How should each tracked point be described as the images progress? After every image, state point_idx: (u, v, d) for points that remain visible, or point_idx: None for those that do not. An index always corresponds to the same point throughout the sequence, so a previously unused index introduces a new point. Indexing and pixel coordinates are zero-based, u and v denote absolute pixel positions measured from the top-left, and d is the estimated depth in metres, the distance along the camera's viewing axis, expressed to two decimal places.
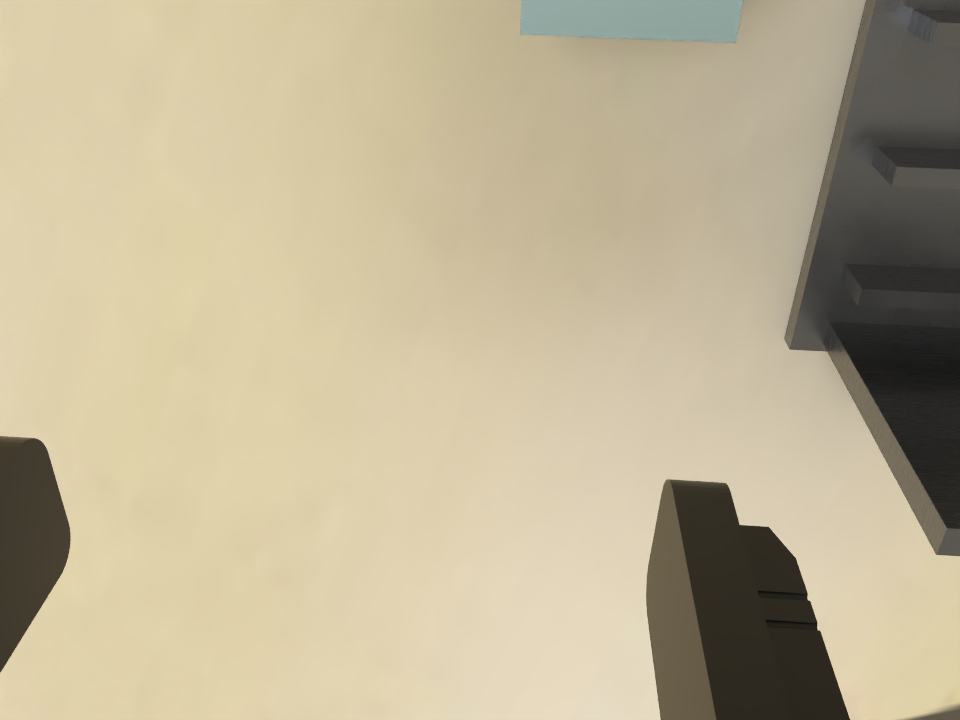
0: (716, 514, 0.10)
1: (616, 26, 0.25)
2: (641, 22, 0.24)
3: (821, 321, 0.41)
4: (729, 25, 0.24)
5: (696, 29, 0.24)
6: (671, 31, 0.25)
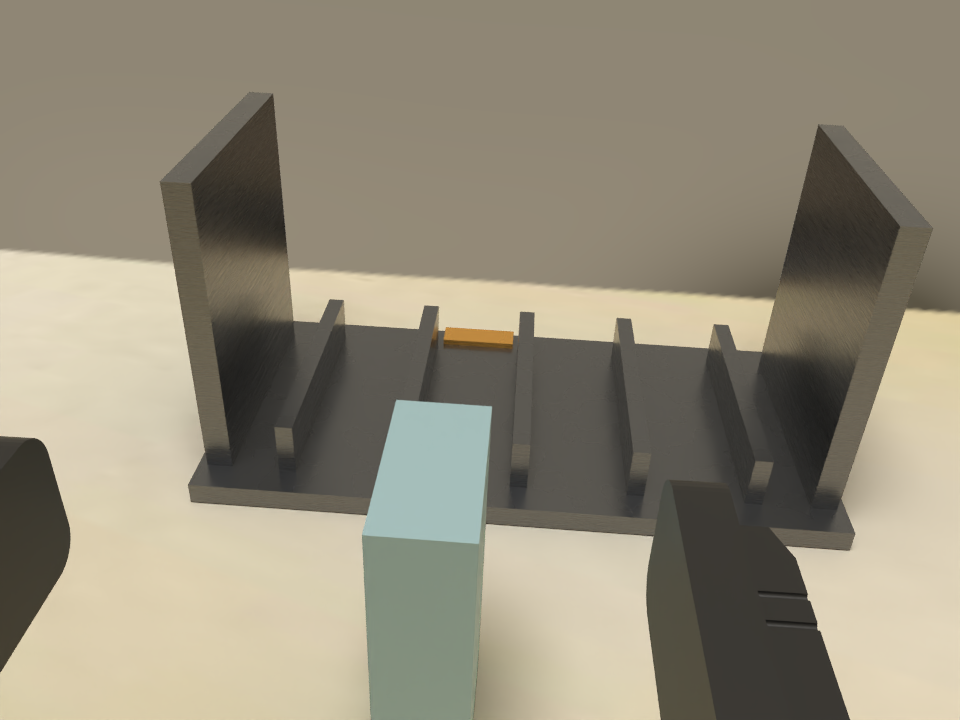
0: (716, 514, 0.10)
1: (474, 476, 0.25)
2: (471, 459, 0.25)
3: (812, 513, 0.40)
4: (476, 410, 0.27)
5: (479, 427, 0.27)
6: (480, 442, 0.26)
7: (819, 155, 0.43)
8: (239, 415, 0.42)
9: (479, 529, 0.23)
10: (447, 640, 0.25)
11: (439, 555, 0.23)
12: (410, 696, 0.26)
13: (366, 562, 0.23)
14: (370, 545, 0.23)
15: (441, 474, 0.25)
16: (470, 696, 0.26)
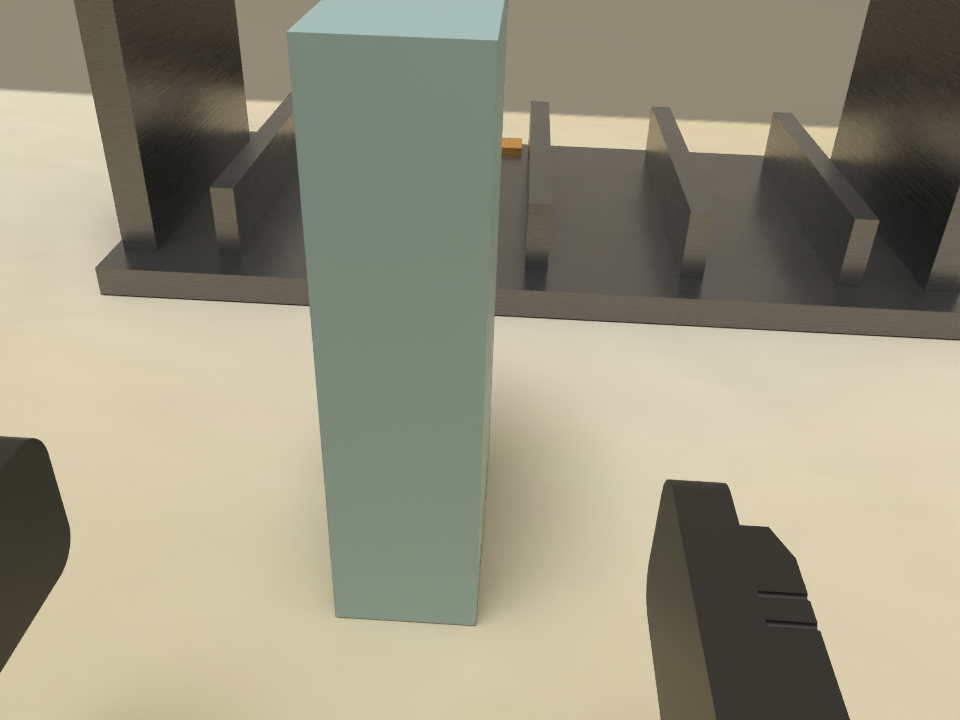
0: (716, 514, 0.10)
1: (485, 5, 0.15)
2: None
3: (928, 295, 0.30)
4: None
5: None
6: None
7: None
8: (166, 188, 0.32)
9: (497, 33, 0.13)
10: (444, 278, 0.15)
11: (425, 73, 0.13)
12: (384, 403, 0.16)
13: (297, 100, 0.13)
14: (302, 56, 0.13)
15: (428, 2, 0.15)
16: (482, 399, 0.16)
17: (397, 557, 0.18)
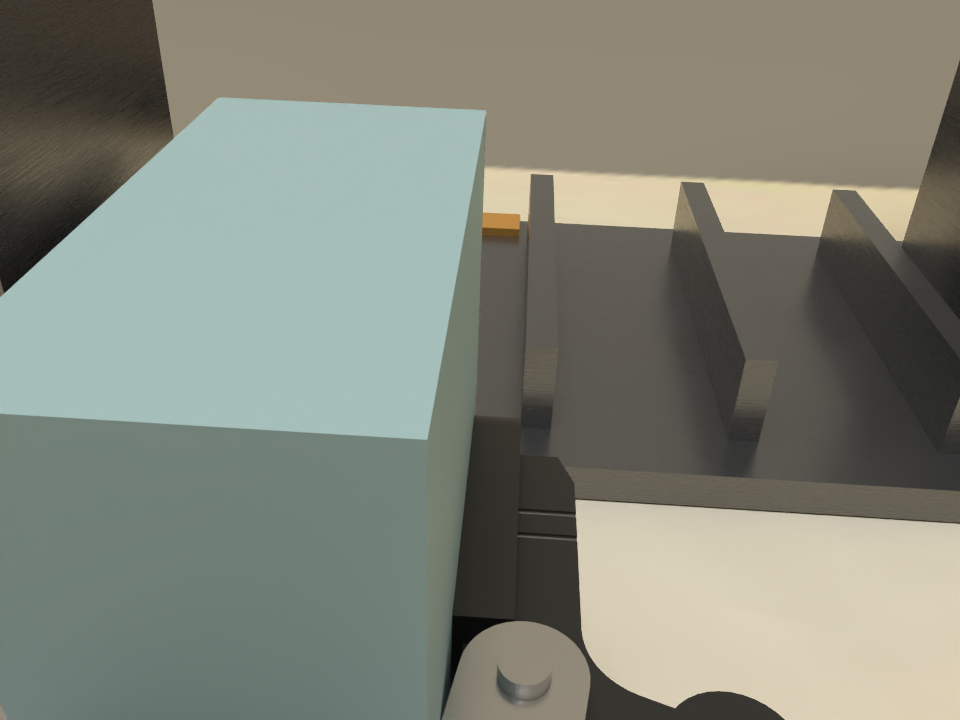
0: (502, 443, 0.11)
1: (424, 235, 0.07)
2: (416, 198, 0.08)
3: None
4: (443, 114, 0.10)
5: (448, 141, 0.09)
6: (450, 168, 0.08)
7: None
8: None
9: (432, 386, 0.05)
10: None
11: (250, 496, 0.05)
12: None
13: None
14: None
15: (305, 230, 0.07)
16: None
17: None
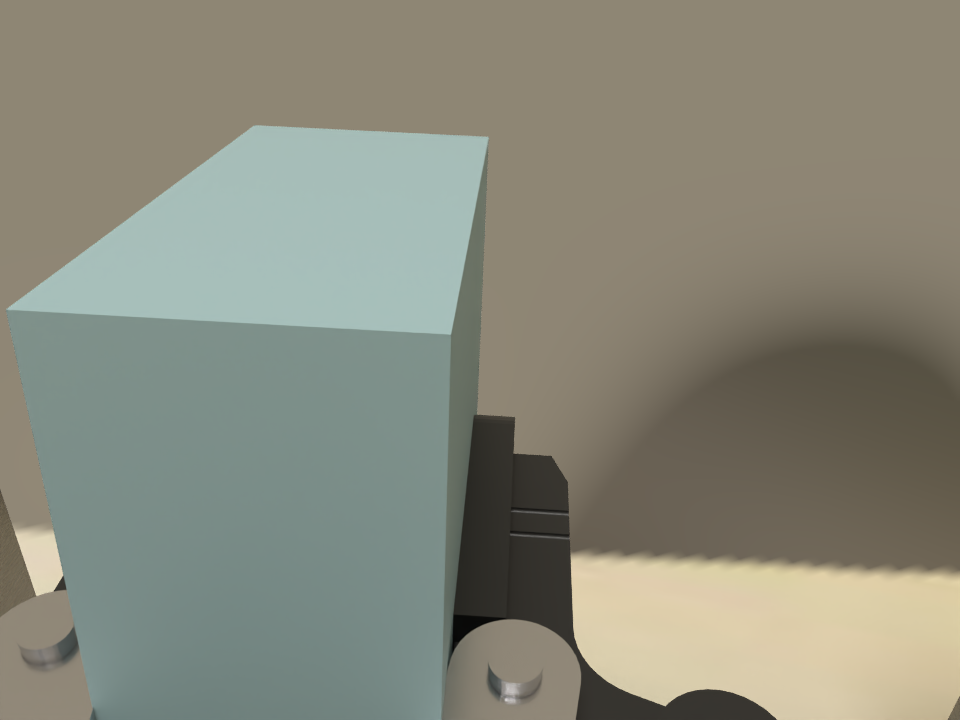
0: (496, 442, 0.11)
1: (440, 216, 0.08)
2: (432, 193, 0.09)
3: None
4: (451, 139, 0.11)
5: (457, 156, 0.10)
6: (460, 174, 0.10)
7: None
8: None
9: (453, 305, 0.06)
10: None
11: (303, 391, 0.06)
12: None
13: (44, 434, 0.06)
14: (44, 356, 0.06)
15: (338, 210, 0.08)
16: None
17: None
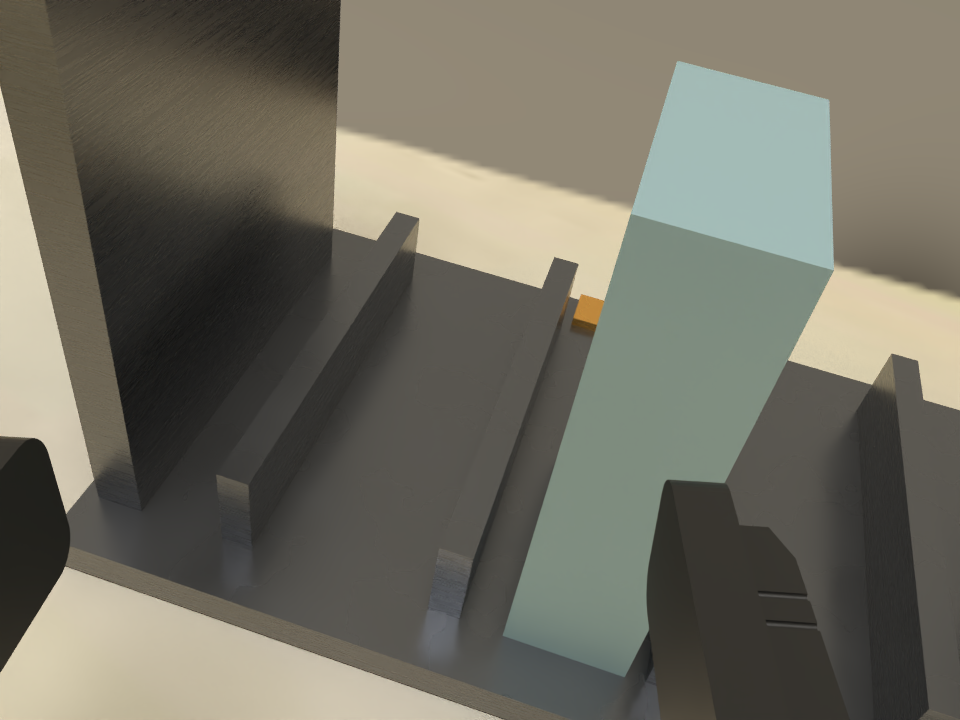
0: (716, 514, 0.10)
1: (812, 178, 0.15)
2: (804, 156, 0.15)
3: None
4: (805, 99, 0.17)
5: (812, 120, 0.16)
6: (816, 139, 0.16)
7: None
8: (171, 419, 0.22)
9: (830, 250, 0.13)
10: (703, 432, 0.15)
11: (752, 277, 0.13)
12: (607, 505, 0.17)
13: (619, 267, 0.14)
14: (638, 236, 0.13)
15: (757, 164, 0.15)
16: None
17: (574, 612, 0.20)
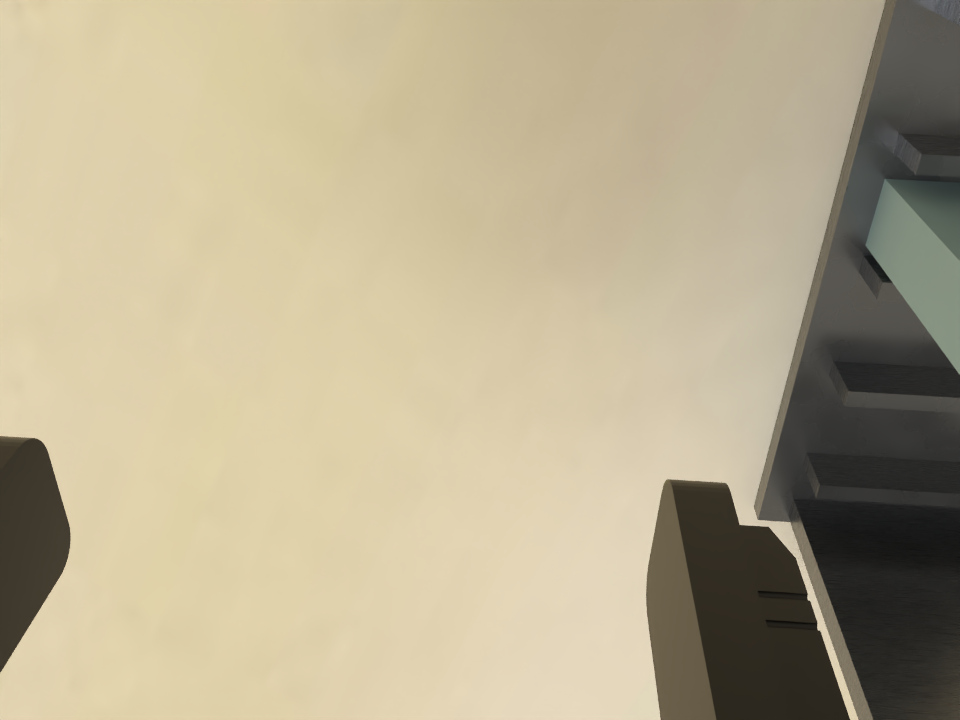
0: (716, 514, 0.10)
1: None
2: None
3: (786, 498, 0.46)
4: None
5: None
6: None
7: None
8: None
9: None
10: (944, 326, 0.31)
11: None
12: (926, 266, 0.32)
13: None
14: None
15: None
16: (914, 310, 0.33)
17: (890, 227, 0.36)
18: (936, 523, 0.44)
